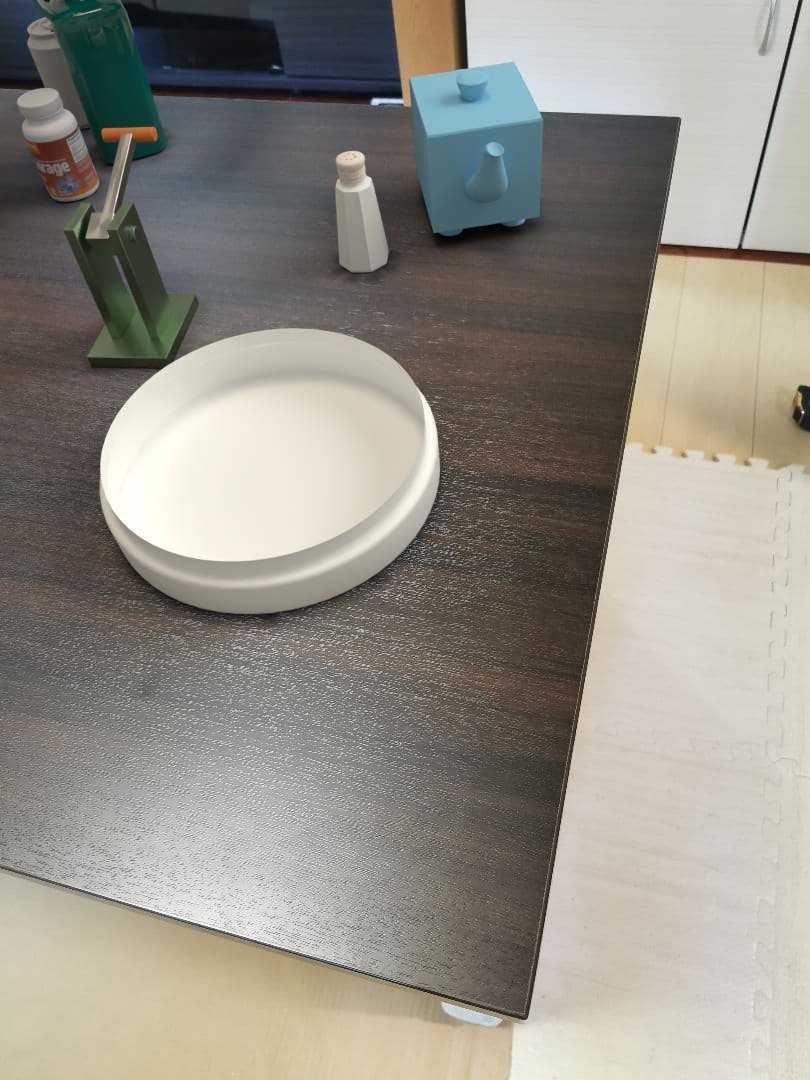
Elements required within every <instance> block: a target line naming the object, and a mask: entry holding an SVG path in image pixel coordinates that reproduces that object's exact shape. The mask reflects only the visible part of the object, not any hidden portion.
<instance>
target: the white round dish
mask: <svg viewBox="0 0 810 1080" xmlns="http://www.w3.org/2000/svg"><path fill="white" fill-rule="evenodd" d="M438 437H439V436H438V429H437V424H436V420H435V417H434V415H433V412H432V409H431V406H430V405H429V402H428V401H427V400H426V397H425V395H424V394H423V393H422V392H421V389H419V387H418V386H417V385H416V383H415V382H414V380H413V379H412V377H411V376H410V374H409V373H408V372H407V371H406V369H404V367H403V366H401V364H400V363H399V362H398V361H397V360H395V358H393V357H392V356H390V355H389V354H387V353H386V352H384V351H383V350H381V349H380V348H378V347H376V346H374V345H372V344H370V343H368V342H367V341H364V340H362V339H359V338H356V337H353V336H351V335H346V334H343V333H340V332H334V331H330V330H321V329H316V328H315V329H314V328H301V327H299V328H298V327H295V328H272V329H263V330H258V331H251V332H246V333H242V334H238V335H237V334H236V335H234V336H231V337H227V338H224V339H221V340H217V341H215V342H212V343H209V344H207V345H204V346H202V347H199V348H197V349H195V350H193V351H191V352H188V353H187V354H185V355H183V356H181V357H179V358H177V359H176V360H173V362H172V363H171V364H169V365H167V366H166V367H165V368H161V369H160V370H159V371H157V372H156V373H155V374H153V375H152V376H151V377H149V378H148V379H147V380H146V381H145V382H144V383H143V384H142V385H140V387H139V388H137V390H135V391H134V392H133V393H132V395H131V396H130V397H128V399H127V400H126V401H125V403H124V404H123V405H122V407H121V408H120V410H119V411H118V412H117V414H116V416H115V417H114V419H113V421H112V423H111V424H110V426H109V429H108V431H107V433H106V436H105V438H104V443H103V446H102V449H101V454H100V460H99V461H100V466H99V467H100V472H99V473H100V477H99V499H100V505H101V506H100V507H101V510H102V514H103V516H104V519H105V522H106V524H107V527H108V529H109V530H110V533H111V534H112V536H113V538H114V540H115V541H116V543H117V545H118V547H119V548H120V550H121V552H122V554H123V555H124V557H125V558H126V560H127V561H128V563H129V564H130V566H131V567H132V568H133V569H134V570H135V571H136V572H137V574H139V575H140V577H141V578H143V580H144V581H146V582H147V583H149V584H150V585H151V586H152V587H154V588H155V589H156V590H157V591H160V592H161V593H163V594H165V595H166V596H168V597H170V598H172V599H174V600H177V601H179V602H181V603H183V604H186V605H189V606H192V607H196V608H198V609H203V610H207V611H211V612H215V613H216V612H217V613H225V614H232V615H233V614H234V615H237V614H238V615H259V614H260V615H261V614H274V613H280V612H287V611H293V610H297V609H300V608H305V607H309V606H312V605H315V604H318V603H322V602H325V601H327V600H330V599H332V598H334V597H337V596H339V595H341V594H344V593H346V592H348V591H350V590H352V589H354V588H355V587H358V586H360V585H361V584H364V583H365V582H366V581H368V580H369V579H371V578H372V577H374V576H375V575H377V574H378V573H380V572H381V571H382V570H383V569H385V568H386V567H387V566H388V565H390V564H391V563H392V562H393V561H395V560H396V558H398V557H399V556H400V555H401V554H402V553H403V552H404V551H405V550H406V549H407V548H408V546H409V545H410V544H411V543H412V541H413V540H414V539H415V538H416V536H417V535H418V534H419V532H420V531H421V529H422V527H423V526H424V525H425V523H426V522H427V519H428V518H429V515H430V513H431V511H432V508H433V505H434V503H435V500H436V498H437V494H438V488H439V485H440V474H441V463H440V462H441V461H440V449H439V438H438Z"/></svg>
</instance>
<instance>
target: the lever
mask: <svg viewBox="0 0 810 1080" xmlns="http://www.w3.org/2000/svg"><path fill="white" fill-rule="evenodd" d="M102 138H103V141H104V142H106V143H110V142H119V145H118V150H117V154H116V158H115V162H114V164H113V167H112V171H111V175H110V179H109V184H108V188H107V192H106V195H105V200H104V204H103V208H102V211H101V212H96V211H95V213H91V218H90V222H89V226H88V230H87V234H86V240H87V242H88V243H89V244H90V246H91V247H92V248H93V250H94V251H95V252H96V254H97V255H98V256H113V257H115V256H116V257H117V255H116V252H115V250H114V248H113V245H112V243H111V240H110V238H109V235H108V233H107V230H106V229H107V228H108V226H109V224H110V223H111V221H112V219H113V218H114V216H115V215H116V213H117V211H118V210H119V208H120V207H121V205H122V203H123V202H124V196H125V193H126V189H127V184H128V180H129V175H130V171H131V167H132V163H133V160H132V159H133V154H134V150H135V146H136V142H149V141H157V131H156V129H155V127H133V128H103V129H102Z"/></svg>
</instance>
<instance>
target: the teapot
mask: <svg viewBox="0 0 810 1080" xmlns="http://www.w3.org/2000/svg"><path fill="white" fill-rule="evenodd" d="M408 85H409V98H410V106H411V107H410V110H411V122H412V134H413V146H414V159H415V170H416V174H417V178H418V182H419V186H420V188H421V193H422V196H423V201H424V204H425V206H426V207H425V208H426V211H427V214H428V218H429V221H430V225H431V229H432V233H433V234H436V233H437V234H440V235H442V236H447V237H452V236H457V235H459V234H461V233H462V232H463V230H464V229H469V228H475V227H476V228H477V227H483V226H489V225H495V224H502V225H504V226H506V227H517V226H520V225H522V224H523V223H524V222H525V221H526V220H527V219H535V218H540V216H541V193H542V192H541V191H542V172H543V171H542V167H543V146H544V145H543V142H544V141H543V140H544V118H543V116H542V114H541V112H540V109H539V107H538V106H537V104H536V102H535V100H534V98H533V96H532V94H531V91H530V90H529V87H528V86H527V84H526V82H525V80H524V78H523V76H522V74H521V72H520V71H519V68H518V66H517V65H516V63H515V62H514V61H509V62H503V63H497V64H489V65H483V66H476V67H468V68H459V69H456V70H449V71H443V72H436V73H429V74H424V75H423V74H422V75H418V76H417V75H416V76H410V77H409V78H408Z"/></svg>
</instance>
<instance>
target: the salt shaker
mask: <svg viewBox="0 0 810 1080" xmlns="http://www.w3.org/2000/svg"><path fill="white" fill-rule="evenodd" d="M365 161H366V157H365V154H363V153H362V152H361V151H357V150H347V151H344V152H341V153H340V154H338V155H337V156H336V158H335V165H336V167H337V174H338V176H339V177H338V178H337V180H336V184H335V187H334V188H335V189H334V190H335V211H336V227H337V228H336V229H337V230H336V231H337V246H338V247H337V248H338V260H339V265H340V266H341V267H342V268H344V269H345V270H347V271H348V272H350V273H354V274H356V273H357V274H358V273H359V274H360V273H372V272H375V271H376V270H378V269H379V268H381V267H384V266H385V265H386V264H387V263H388V259H389V251H390V250H389V246H388V240H387V237H386V233H385V229H384V224H383V220H382V216H381V211H380V207H379V203H378V198H377V195H376V190H375V186H374V182H373V179H372V177H370V176H369V175H367V173H366V171H367V170H366V164H365Z"/></svg>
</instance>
